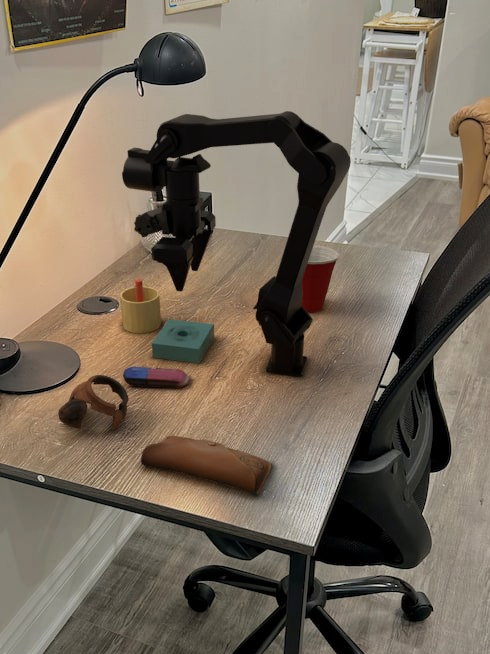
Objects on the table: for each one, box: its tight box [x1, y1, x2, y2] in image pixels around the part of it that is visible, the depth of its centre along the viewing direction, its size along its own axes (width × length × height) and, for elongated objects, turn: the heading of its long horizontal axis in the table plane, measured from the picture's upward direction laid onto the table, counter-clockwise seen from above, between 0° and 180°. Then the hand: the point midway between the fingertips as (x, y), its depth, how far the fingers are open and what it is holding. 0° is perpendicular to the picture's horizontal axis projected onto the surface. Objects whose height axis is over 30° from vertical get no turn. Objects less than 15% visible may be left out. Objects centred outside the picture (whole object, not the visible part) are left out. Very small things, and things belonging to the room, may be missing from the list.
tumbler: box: [119, 285, 162, 334], centre depth 142 cm, size 8×8×6 cm
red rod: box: [134, 278, 144, 302], centre depth 141 cm, size 1×1×9 cm
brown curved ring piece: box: [57, 374, 129, 430], centre depth 114 cm, size 12×10×8 cm
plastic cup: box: [301, 245, 341, 314], centre depth 146 cm, size 11×11×12 cm
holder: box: [151, 318, 215, 364], centre depth 135 cm, size 10×9×3 cm
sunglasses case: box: [140, 435, 273, 495], centre depth 105 cm, size 18×7×7 cm
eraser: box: [122, 366, 190, 389], centre depth 125 cm, size 11×4×2 cm, turn 85°
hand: (187, 280), depth 131 cm, fingers open, 9 cm apart
